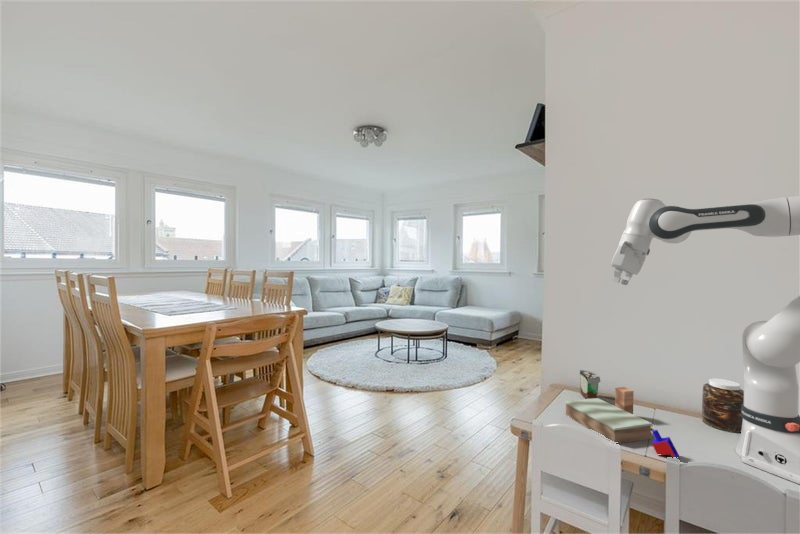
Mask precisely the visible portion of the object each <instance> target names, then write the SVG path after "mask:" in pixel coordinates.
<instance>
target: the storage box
mask: <svg viewBox="0 0 800 534" xmlns="http://www.w3.org/2000/svg"><path fill="white" fill-rule="evenodd" d="M564 404H565V416H566V415H567V416H566V417H568V416H569V417H568V418H570V419H571V418H572V420H573V419H574V420H573V421H575V422H577V423H578V424H580V425H582V426H583V427H585V428H587V429H588V428H589V430H590V429H592V430H594V431H596V432H598V433H600V434H602V435H604V436H605V437H606V438H608V439H610V440H612V441H614V442H618V443H617V444H623V443H630V442H639V441H644V440H650V439H651V438H652V437H651V436H652V435H651V434H652V430H651V429H652V428H651V427H652V426H653V423H652V422H650V421H648V420H646V419H643V418H642V417H639V416H638V415H636V414H634V413H633V414H631V413H629V412H627V411H625V410H622V409H620V408H618V407H616V406H615V404H611V403H610V402H607V401H605V400H603V399H600V398H599V397H597V398H593V399H584V398H583V399H574V400H567V401H564ZM592 430H591V431H592Z"/></svg>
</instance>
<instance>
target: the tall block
mask: <svg viewBox="0 0 800 534" xmlns="http://www.w3.org/2000/svg"><path fill="white" fill-rule="evenodd" d="M614 393H615V394H614V397H615V398H614V406H616V407H618V408H620V409H622V410H625V411H627V412H629V413H631V414H633V415H634V390H632V389H630V388H627V387H625V386H621V387H615V389H614Z"/></svg>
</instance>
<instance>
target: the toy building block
mask: <svg viewBox="0 0 800 534" xmlns="http://www.w3.org/2000/svg"><path fill="white" fill-rule="evenodd" d="M651 434H653V436H654V439H653V440H652V442H651V445H652V447H653V449H654V451H655V453H656V455H657V454H661V455H660V456H667V455H670V456H671V458H672V457H676V458H677V457H678V458H679V457H680V454H679V453H678V450H677V449H676V447H675V445H674V443H673V441H672V440H671V437H670V436H668V437H662V436H661V434H660V432H659V430H658V429H654V430H651Z"/></svg>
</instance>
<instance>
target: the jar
mask: <svg viewBox="0 0 800 534" xmlns="http://www.w3.org/2000/svg"><path fill="white" fill-rule="evenodd" d="M701 396H702V399H701V401H702V403H701V405H702V406H701V420H702V422H703V423H704V424H705V425H707V426H710V427H711V426H712V427H711V428H714V429H716V428H717V430H719V431H720V430H721V431H725V432H727V433H728V432H729V433H736V432H737V434H738V433H739V434H741V433H740V432H741V429H742V418H741V407H742V404H743V403H744V389H742V388H741V384H740V383H739V382H736V381H733V380H728V379H724V378H717V377H716V378H713V377H712V378H708V383H704V384H703V387H702V395H701Z"/></svg>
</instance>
